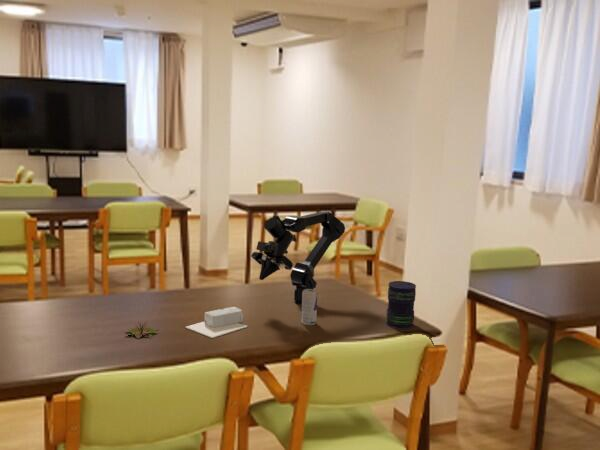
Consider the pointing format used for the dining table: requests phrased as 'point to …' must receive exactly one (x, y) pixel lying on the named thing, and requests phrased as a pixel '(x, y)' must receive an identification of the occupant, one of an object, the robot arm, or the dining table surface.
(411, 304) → the storage jar
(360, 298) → the dining table surface
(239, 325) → the mat
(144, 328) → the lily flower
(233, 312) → the skincare box
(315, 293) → the energy drink
